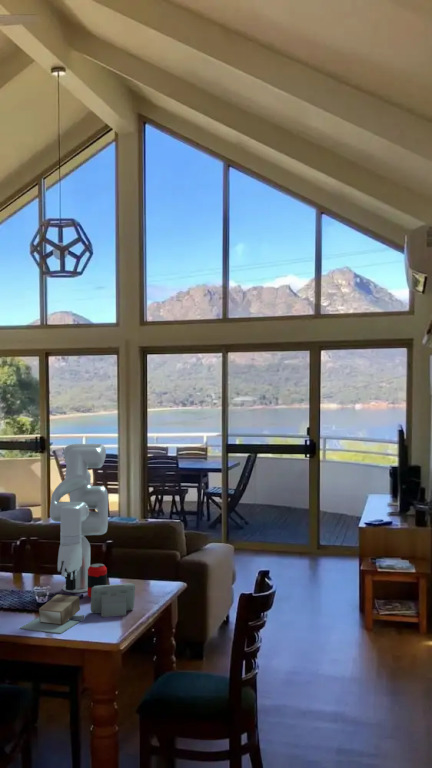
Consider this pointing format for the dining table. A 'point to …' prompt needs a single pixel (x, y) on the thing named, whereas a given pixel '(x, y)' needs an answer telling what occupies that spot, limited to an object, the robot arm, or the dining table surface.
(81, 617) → the rail
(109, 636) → the dining table surface
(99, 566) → the soda can
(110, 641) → the dining table surface
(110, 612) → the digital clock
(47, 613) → the block
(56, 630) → the mat
